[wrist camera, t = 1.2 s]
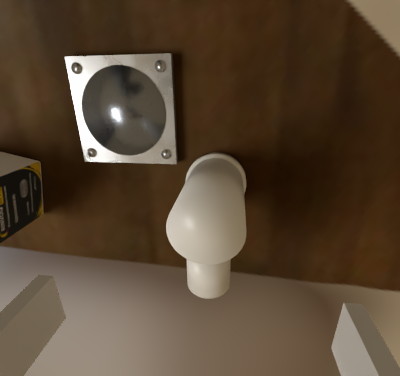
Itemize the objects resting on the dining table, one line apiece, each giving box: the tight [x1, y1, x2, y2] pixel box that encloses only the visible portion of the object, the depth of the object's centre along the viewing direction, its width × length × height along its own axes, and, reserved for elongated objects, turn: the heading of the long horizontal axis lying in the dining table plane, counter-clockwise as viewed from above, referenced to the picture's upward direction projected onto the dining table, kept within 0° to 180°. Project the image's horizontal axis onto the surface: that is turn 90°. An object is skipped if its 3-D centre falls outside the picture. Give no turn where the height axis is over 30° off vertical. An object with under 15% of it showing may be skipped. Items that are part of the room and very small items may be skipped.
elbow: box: [166, 152, 246, 298], centre depth 23 cm, size 9×6×10 cm, turn 1°
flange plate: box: [65, 53, 178, 164], centre depth 25 cm, size 10×10×1 cm
